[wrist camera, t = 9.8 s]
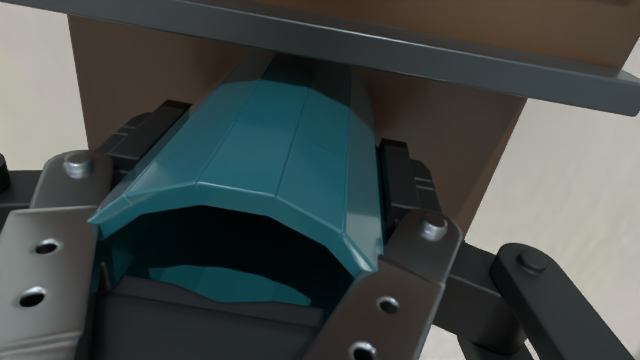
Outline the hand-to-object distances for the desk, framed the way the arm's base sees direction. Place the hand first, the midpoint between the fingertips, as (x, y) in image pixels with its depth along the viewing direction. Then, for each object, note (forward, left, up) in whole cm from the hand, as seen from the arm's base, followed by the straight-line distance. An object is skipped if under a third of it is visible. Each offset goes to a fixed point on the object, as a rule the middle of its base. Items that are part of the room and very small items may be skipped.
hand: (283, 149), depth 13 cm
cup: (0, 0, -2) cm, 2 cm away
